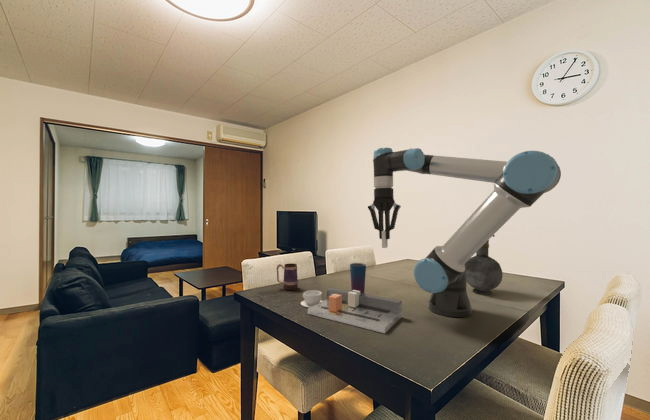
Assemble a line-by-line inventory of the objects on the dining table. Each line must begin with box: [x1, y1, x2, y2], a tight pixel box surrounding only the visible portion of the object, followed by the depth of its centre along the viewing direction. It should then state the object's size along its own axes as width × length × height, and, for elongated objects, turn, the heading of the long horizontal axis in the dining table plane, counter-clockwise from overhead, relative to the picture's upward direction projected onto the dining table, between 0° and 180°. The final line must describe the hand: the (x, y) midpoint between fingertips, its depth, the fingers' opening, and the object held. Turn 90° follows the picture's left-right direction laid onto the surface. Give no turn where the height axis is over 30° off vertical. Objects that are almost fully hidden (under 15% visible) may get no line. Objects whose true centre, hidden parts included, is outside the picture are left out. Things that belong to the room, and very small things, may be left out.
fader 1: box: [329, 294, 342, 312], centre depth 105 cm, size 3×4×5 cm
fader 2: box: [348, 290, 360, 307], centre depth 109 cm, size 3×4×5 cm
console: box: [307, 287, 403, 334], centre depth 105 cm, size 30×16×6 cm, turn 57°
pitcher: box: [466, 234, 503, 296], centre depth 134 cm, size 11×19×30 cm, turn 18°
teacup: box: [300, 289, 323, 308], centre depth 118 cm, size 10×10×5 cm
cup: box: [349, 262, 367, 294], centre depth 123 cm, size 7×7×15 cm
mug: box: [276, 263, 299, 291], centre depth 140 cm, size 10×7×12 cm
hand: (384, 247), depth 114 cm, fingers closed
